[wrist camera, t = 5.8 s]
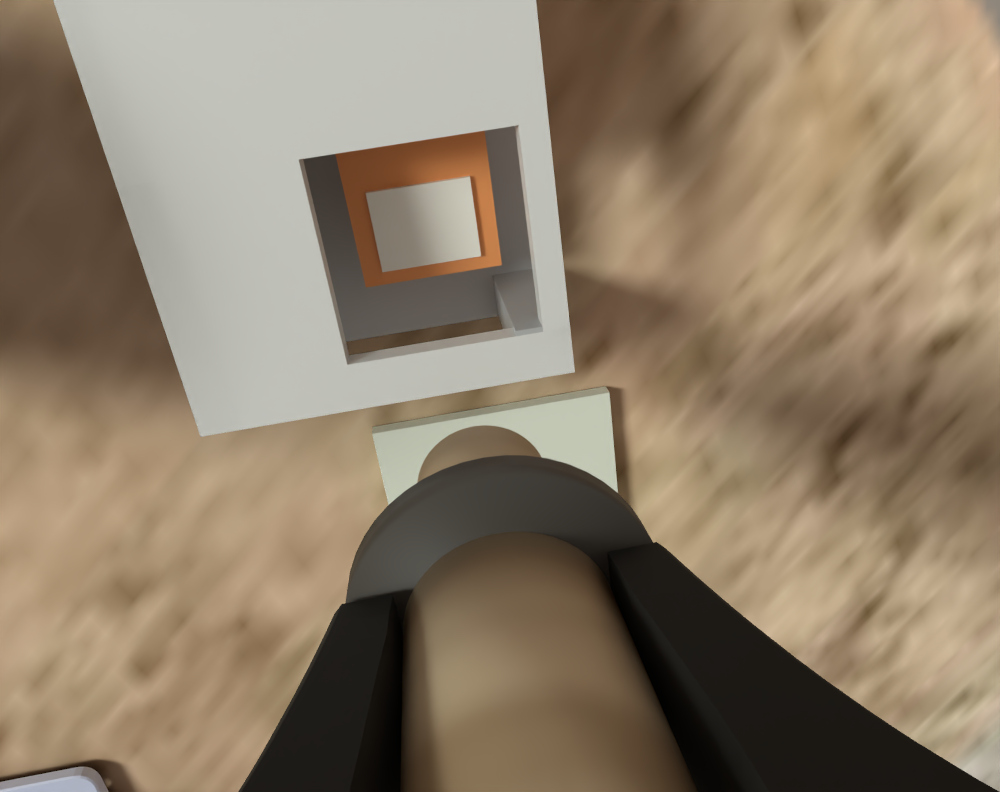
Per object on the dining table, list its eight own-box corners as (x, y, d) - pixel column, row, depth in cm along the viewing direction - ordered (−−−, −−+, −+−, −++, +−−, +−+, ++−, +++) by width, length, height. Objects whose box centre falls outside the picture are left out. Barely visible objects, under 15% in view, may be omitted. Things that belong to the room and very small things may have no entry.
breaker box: (536, 303, 18) (574, 372, 14) (246, 351, 18) (200, 436, 14) (474, -205, 14) (503, -311, 10) (97, -154, 14) (-30, -243, 10)
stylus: (608, 566, 14) (944, 1324, 5) (386, 605, 13) (341, 1470, 5) (588, 354, 12) (1007, 905, 4) (339, 394, 12) (162, 1082, 3)
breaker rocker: (505, 247, 16) (512, 265, 16) (357, 271, 16) (355, 291, 15) (456, -147, 13) (461, -155, 12) (266, -121, 13) (257, -126, 12)
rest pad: (621, 575, 22) (625, 583, 22) (415, 613, 22) (415, 622, 21) (605, 386, 20) (609, 392, 19) (372, 426, 19) (372, 434, 19)
